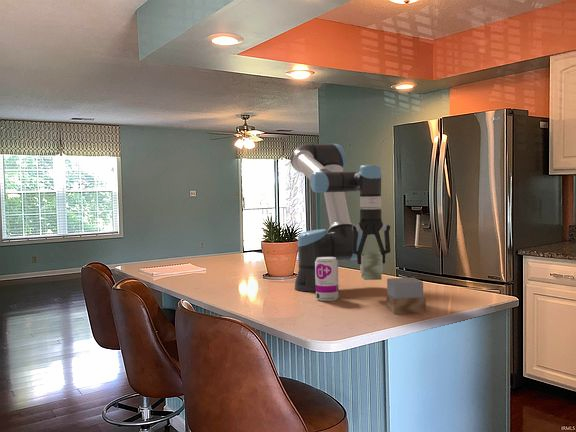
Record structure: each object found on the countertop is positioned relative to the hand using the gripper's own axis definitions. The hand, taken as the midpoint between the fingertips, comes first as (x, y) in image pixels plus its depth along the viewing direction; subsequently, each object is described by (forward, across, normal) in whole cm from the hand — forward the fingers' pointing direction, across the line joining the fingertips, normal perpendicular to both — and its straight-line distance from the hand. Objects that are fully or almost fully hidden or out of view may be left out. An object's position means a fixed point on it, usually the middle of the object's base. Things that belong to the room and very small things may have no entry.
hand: (371, 272), depth 186 cm
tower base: (+9, +7, -20) cm, 23 cm away
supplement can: (+10, -16, +1) cm, 19 cm away
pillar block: (+2, 0, 0) cm, 2 cm away
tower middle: (+4, +7, -20) cm, 21 cm away
